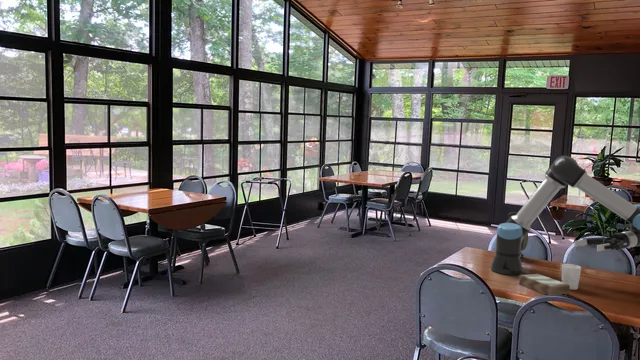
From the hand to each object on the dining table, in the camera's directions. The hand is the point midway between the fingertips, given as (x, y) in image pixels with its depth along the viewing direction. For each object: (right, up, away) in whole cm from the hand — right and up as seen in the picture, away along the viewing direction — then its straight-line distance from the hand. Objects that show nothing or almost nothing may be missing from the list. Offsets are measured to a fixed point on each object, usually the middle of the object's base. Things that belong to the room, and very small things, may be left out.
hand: (585, 246), depth 237 cm
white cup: (-8, -19, -1) cm, 21 cm away
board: (-21, -19, -4) cm, 29 cm away
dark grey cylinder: (-14, -13, +54) cm, 57 cm away
